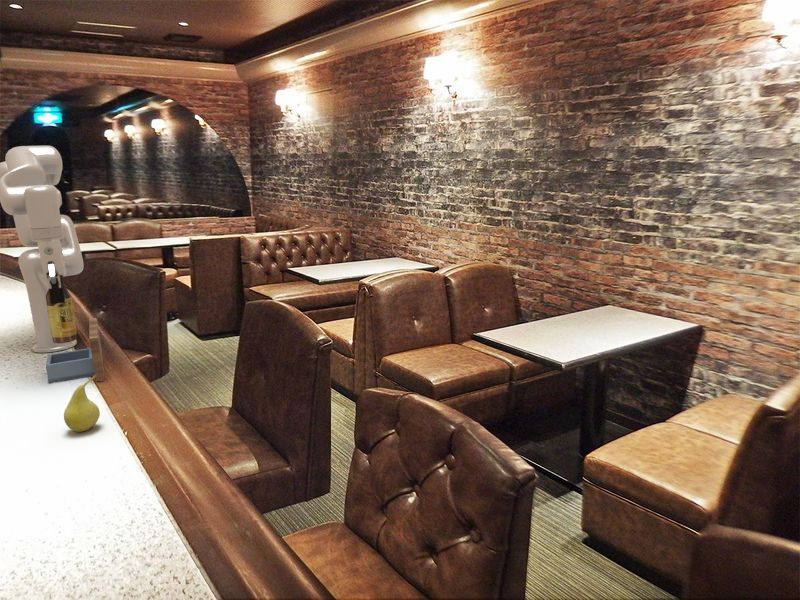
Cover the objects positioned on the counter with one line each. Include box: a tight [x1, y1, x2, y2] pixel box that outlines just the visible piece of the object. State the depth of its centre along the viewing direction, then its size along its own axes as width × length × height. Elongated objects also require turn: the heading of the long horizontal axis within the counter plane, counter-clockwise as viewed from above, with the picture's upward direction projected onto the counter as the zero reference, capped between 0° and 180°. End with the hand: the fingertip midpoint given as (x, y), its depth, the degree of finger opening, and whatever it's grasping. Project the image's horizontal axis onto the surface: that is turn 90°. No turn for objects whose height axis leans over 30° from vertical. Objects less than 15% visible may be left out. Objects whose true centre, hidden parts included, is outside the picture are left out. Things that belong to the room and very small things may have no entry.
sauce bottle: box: [46, 273, 78, 343], centre depth 171 cm, size 7×6×20 cm
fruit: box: [63, 375, 101, 433], centre depth 137 cm, size 7×8×12 cm
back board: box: [88, 317, 106, 383], centre depth 177 cm, size 24×2×12 cm, turn 26°
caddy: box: [45, 347, 95, 384], centre depth 175 cm, size 11×12×5 cm
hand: (58, 299), depth 171 cm, fingers closed on sauce bottle, 6 cm apart
